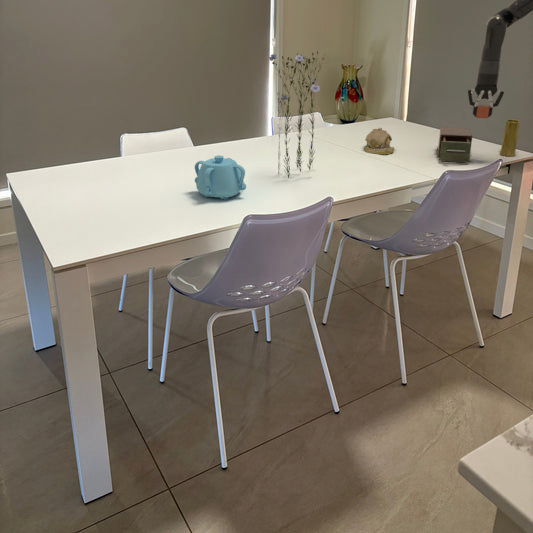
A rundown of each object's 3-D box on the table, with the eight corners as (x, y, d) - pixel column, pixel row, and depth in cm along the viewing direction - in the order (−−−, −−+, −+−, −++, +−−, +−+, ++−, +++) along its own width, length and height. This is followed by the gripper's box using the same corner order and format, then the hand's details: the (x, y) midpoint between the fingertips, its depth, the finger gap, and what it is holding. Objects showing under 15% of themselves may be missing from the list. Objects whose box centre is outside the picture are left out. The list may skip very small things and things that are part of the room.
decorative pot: (200, 204, 197) (198, 164, 191) (194, 189, 211) (191, 152, 205) (248, 199, 200) (247, 160, 194) (238, 185, 214) (237, 148, 208)
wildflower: (310, 164, 238) (312, 46, 219) (335, 180, 219) (340, 52, 199) (258, 170, 231) (256, 49, 212) (279, 187, 212) (279, 55, 192)
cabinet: (469, 159, 244) (472, 135, 240) (437, 157, 247) (440, 134, 243) (467, 150, 256) (470, 128, 252) (437, 148, 259) (440, 127, 255)
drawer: (469, 165, 232) (472, 145, 229) (439, 163, 235) (441, 144, 232) (467, 154, 248) (470, 135, 244) (439, 152, 250) (441, 134, 247)
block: (487, 116, 237) (488, 105, 235) (487, 118, 233) (489, 107, 231) (475, 115, 238) (477, 104, 236) (476, 117, 234) (477, 106, 232)
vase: (499, 155, 248) (505, 121, 242) (499, 152, 253) (505, 118, 247) (515, 157, 246) (521, 122, 240) (515, 153, 251) (521, 119, 245)
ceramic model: (358, 150, 259) (359, 127, 255) (374, 145, 265) (376, 123, 261) (383, 156, 249) (385, 132, 245) (399, 151, 256) (401, 128, 252)
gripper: (469, 72, 226) (463, 117, 233) (509, 73, 223) (501, 119, 230) (469, 70, 233) (462, 113, 240) (507, 71, 229) (499, 115, 237)
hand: (481, 116), depth 235 cm, fingers closed on block, 4 cm apart
